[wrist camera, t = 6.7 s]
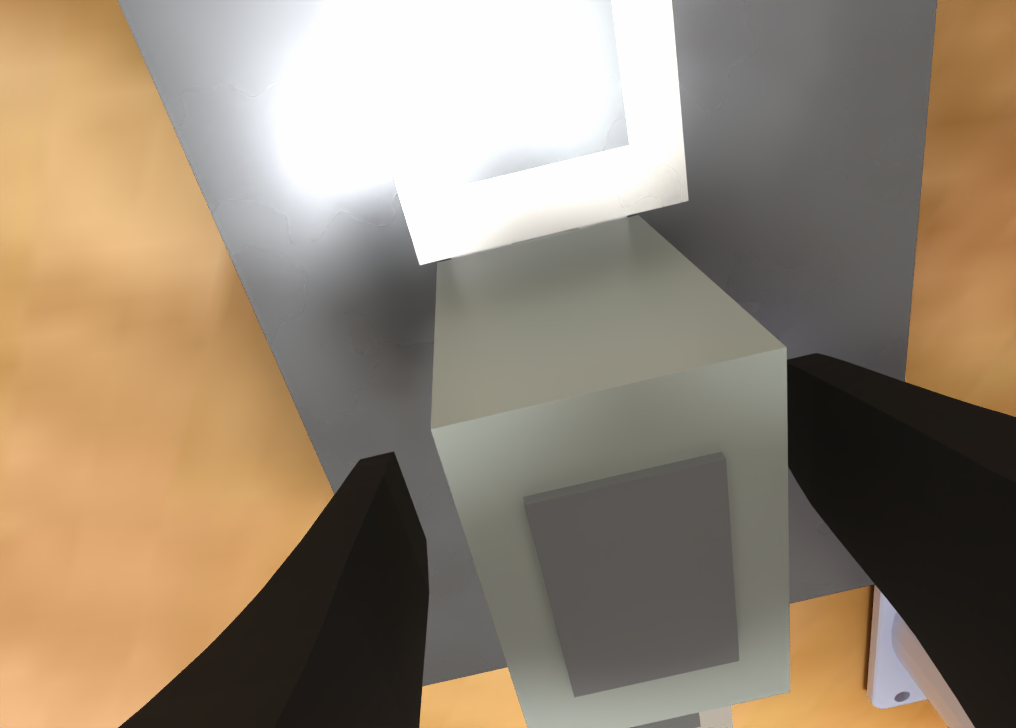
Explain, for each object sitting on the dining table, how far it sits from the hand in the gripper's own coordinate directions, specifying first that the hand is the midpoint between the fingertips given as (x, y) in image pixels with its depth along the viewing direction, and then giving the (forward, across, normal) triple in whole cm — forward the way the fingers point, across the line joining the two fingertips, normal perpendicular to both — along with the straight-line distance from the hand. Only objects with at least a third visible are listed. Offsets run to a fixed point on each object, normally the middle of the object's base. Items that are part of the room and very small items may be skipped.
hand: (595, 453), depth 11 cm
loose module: (+3, 0, 0) cm, 3 cm away
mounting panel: (+4, -1, 0) cm, 5 cm away
